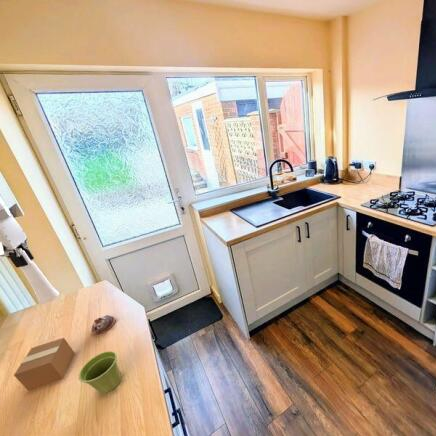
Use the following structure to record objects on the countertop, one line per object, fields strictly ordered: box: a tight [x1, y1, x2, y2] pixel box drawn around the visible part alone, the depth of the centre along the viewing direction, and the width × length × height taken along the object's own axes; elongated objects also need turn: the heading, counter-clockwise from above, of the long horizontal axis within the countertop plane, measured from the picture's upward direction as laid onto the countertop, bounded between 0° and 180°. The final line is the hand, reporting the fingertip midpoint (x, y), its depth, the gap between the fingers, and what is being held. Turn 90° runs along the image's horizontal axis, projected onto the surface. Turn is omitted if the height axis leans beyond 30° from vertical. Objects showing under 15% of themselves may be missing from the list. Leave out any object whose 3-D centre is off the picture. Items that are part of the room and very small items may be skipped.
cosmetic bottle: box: [12, 248, 60, 305], centre depth 90 cm, size 6×6×22 cm
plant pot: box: [77, 350, 122, 395], centre depth 74 cm, size 9×9×9 cm
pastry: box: [91, 314, 116, 335], centre depth 97 cm, size 8×8×5 cm
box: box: [13, 337, 75, 392], centre depth 80 cm, size 9×10×8 cm
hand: (25, 262), depth 87 cm, fingers closed on cosmetic bottle, 3 cm apart
